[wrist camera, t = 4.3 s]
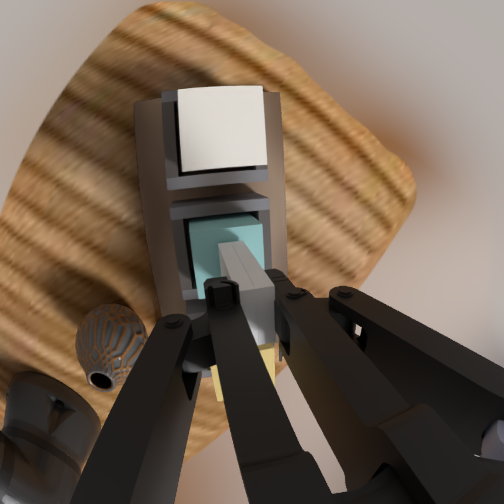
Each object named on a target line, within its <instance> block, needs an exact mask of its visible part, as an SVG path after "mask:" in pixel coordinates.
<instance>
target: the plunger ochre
mask: <svg viewBox="0 0 504 504" xmlns="http://www.w3.org/2000/svg"><path fill="white" fill-rule="evenodd" d="M257 346H258V348H259V351H260V353H261V356H262V358H263V360H264V363H265V365H266V368H267V370H268V372H269V375H270V377H271V379H272V382H273V384H274V387H275V364H274V346H273V344H272V343H267V344H262V345H257ZM211 372H212V377H213V382H214V387H215V391H216V396H217V400H218V401H224V400H223V395H222V390H221V385H220V381H219V375H218V370H217V365H214V366H211Z"/></svg>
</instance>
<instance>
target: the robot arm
mask: <svg viewBox="0 0 504 504" xmlns="http://www.w3.org/2000/svg"><path fill="white" fill-rule="evenodd" d="M218 250H219V260H220V269H221V277H215V278H208V279H206V280H205V282H204V283H203V285H204V292H205V299H206V306H207V310H206V312H205V313H204V314H203V315H202V316H200V317H199V318H196V319H194V320H191V319H190V318H189V317H188V316H187V315H184V314H169V315H166V316H164V317H162V318H161V319H159V321H158V322H157V323H156V325H155V327H154V328H153V330H152V332H151V334H150V336H149V337H148V339H147V341H146V343H145V345H144V347H143V349H142V350H141V352H140V354H139V356H138V358H137V360H136V362H135V364H134V365H133V367H132V369H131V371H130V373H129V375H128V377H127V379H126V381H125V383H124V385H123V387H122V389H121V391H120V393H119V395H118V397H117V399H116V401H115V403H114V405H113V407H112V409H111V411H110V413H109V415H108V417H107V419H106V421H105V423H104V425H103V427H102V429H101V423H100V420H99V417H98V416H97V414H96V412H95V411H94V410H93V408H92V407H91V406H90V405H89V404H88V403H87V402H86V401H85V400H84V399H83V398H82V397H80V396H79V395H78V394H77V393H75V392H74V391H73V390H71V389H70V388H68V387H67V386H65V385H63V384H62V383H60V382H58V381H56V380H54V379H52V378H50V377H47V376H44V375H41V374H38V373H33V372H21V373H18V374H16V375H15V376H14V377H13V379H12V381H11V382H10V384H9V386H8V388H7V392H6V400H7V403H6V409H5V418H4V426H3V428H2V431H0V504H174V502H175V497H176V492H177V487H178V482H179V477H180V472H181V467H182V463H183V458H184V453H185V449H186V444H187V439H188V435H189V430H190V426H191V421H192V417H193V412H194V408H195V403H196V399H197V395H198V390H199V386H200V381H201V377H202V370H204V369H206V368H209V367H211V366H214V365H217V370H218V375H219V381H220V385H221V390H222V395H223V400H224V405H225V409H226V414H227V418H228V423H229V427H230V432H231V436H232V440H233V444H234V448H235V452H236V456H237V460H238V464H239V468H240V472H241V476H242V480H243V483H244V487H245V490H246V494H247V497H248V501H249V504H504V368H503V367H501V366H499V365H497V364H495V363H494V362H492V361H490V360H488V359H486V358H485V357H483V356H481V355H479V354H477V353H475V352H474V351H472V350H470V349H468V348H466V347H464V346H463V345H461V344H459V343H457V342H455V341H453V340H452V339H450V338H448V337H446V336H444V335H442V334H440V333H439V332H437V331H435V330H433V329H431V328H429V327H427V326H426V325H424V324H422V323H420V322H418V321H416V320H414V319H412V318H410V317H409V316H407V315H405V314H403V313H401V312H399V311H397V310H395V309H393V308H392V307H389V306H387V305H386V304H384V303H382V302H380V301H378V300H376V299H374V298H373V297H371V296H369V295H367V294H365V293H363V292H361V291H359V290H357V289H355V288H352V287H347V286H339V287H334V288H333V289H331V290H330V292H329V298H314V296H313V295H312V294H311V293H310V292H309V291H307V290H306V289H303V288H297V287H295V286H294V285H293V284H292V282H291V281H290V280H289V279H288V278H287V277H286V275H285V274H284V273H283V272H282V271H280V270H278V269H268V270H263V268H262V267H261V266H260V264H259V263H258V261H257V260H256V258H255V257H254V256H253V254H252V253H251V251H250V250H249V248H248V247H247V246H246V244H245V243H244V241H235V242H226V243H218ZM356 324H357V325H359V326H360V327H362V329H361V334H360V336H359V335H357V334H355V330H356ZM276 333H277V335H278V337H279V361H282V357H283V356H284V358H285V360H286V362H287V364H288V366H289V368H290V370H291V372H292V374H293V376H294V378H295V380H296V382H297V384H298V386H299V388H300V389H301V391H302V393H303V395H304V397H305V399H306V401H307V403H308V405H309V407H310V409H311V411H312V413H313V415H314V416H315V418H316V420H317V422H318V424H319V426H320V428H321V430H322V432H323V434H324V436H325V438H326V439H327V441H328V443H329V445H330V447H331V449H332V451H333V453H334V454H335V456H336V458H337V460H338V462H339V464H340V466H341V467H342V469H343V472H344V474H345V483H346V488H347V492H341V493H335V494H332V493H331V491H330V489H329V487H328V485H327V483H326V481H325V479H324V477H323V475H322V473H321V471H320V469H319V467H318V465H317V463H316V461H315V459H314V458H313V456H312V455H311V454H310V453H309V452H306V451H304V450H303V449H302V447H301V446H300V444H299V441H298V439H297V437H296V435H295V432H294V430H293V428H292V426H291V423H290V421H289V419H288V417H287V414H286V412H285V410H284V408H283V405H282V403H281V401H280V398H279V396H278V394H277V391H276V389H275V387H274V384H273V382H272V379H271V377H270V375H269V372H268V370H267V368H266V365H265V363H264V360H263V358H262V356H261V353H260V351H259V348H258V346H257V345H262V344H267V343H272V342H276ZM474 454H475V455H478V456H480V457H477V456H474ZM89 455H90V456H89ZM88 457H89V458H88ZM87 459H88V460H87ZM86 460H87V462H86ZM85 462H86V465H85V467H84V469H83V472H82V474H81V469H82V466H83V465H84V463H85Z"/></svg>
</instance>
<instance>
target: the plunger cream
mask: <svg viewBox="0 0 504 504" xmlns="http://www.w3.org/2000/svg"><path fill="white" fill-rule="evenodd" d="M178 111H179V130H180V146H181V159H182V172H186V171H194V170H204V169H214V168H226V167H239V166H254V165H267V150H266V133H265V117H264V102H263V87H262V86H217V87H200V88H188V89H178Z"/></svg>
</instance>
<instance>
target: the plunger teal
mask: <svg viewBox="0 0 504 504" xmlns="http://www.w3.org/2000/svg"><path fill="white" fill-rule="evenodd" d="M189 233H190V241H191V249H192V256H193V264H194V271H195V278H196V285H197V291H198V297H199V299H205V292H204V285H203V283H204V282H205V280H206V279H208V278H215V277H221V269H220V260H219V250H218V243H226V242H235V241H244V243H245V244H246V246H247V247H248V248H249V250H250V251H251V253H252V254H253V256H254V257H255V258H256V260H257V261H258V263H259V264H260V266H261V267H262V268H263V270H265V268H264V246H263V226H262V223H260V222H259V221H258V220H257V219H256V218H254V217H253V216H252V215H251V214H249V213H248V212H238V213H228V214H219V215H210V216H202V217H193V218H189Z"/></svg>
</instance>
